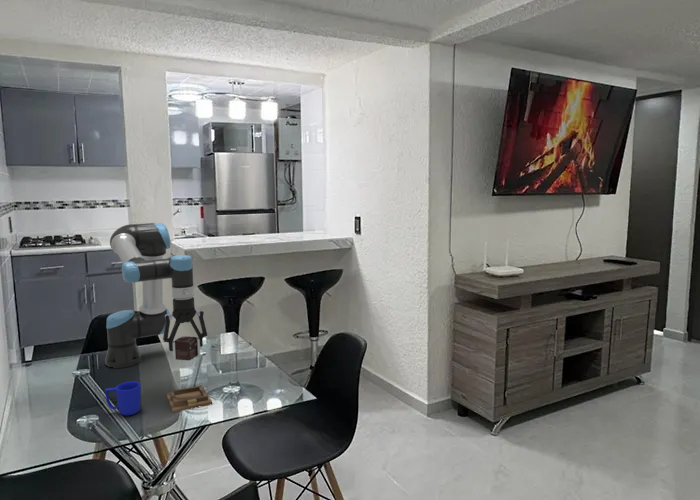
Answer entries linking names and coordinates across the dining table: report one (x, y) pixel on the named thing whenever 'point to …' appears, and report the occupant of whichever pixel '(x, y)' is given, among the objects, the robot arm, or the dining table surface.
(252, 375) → the dining table surface
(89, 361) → the dining table surface
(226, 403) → the dining table surface
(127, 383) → the mug
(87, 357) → the dining table surface
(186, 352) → the box
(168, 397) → the brown tray
